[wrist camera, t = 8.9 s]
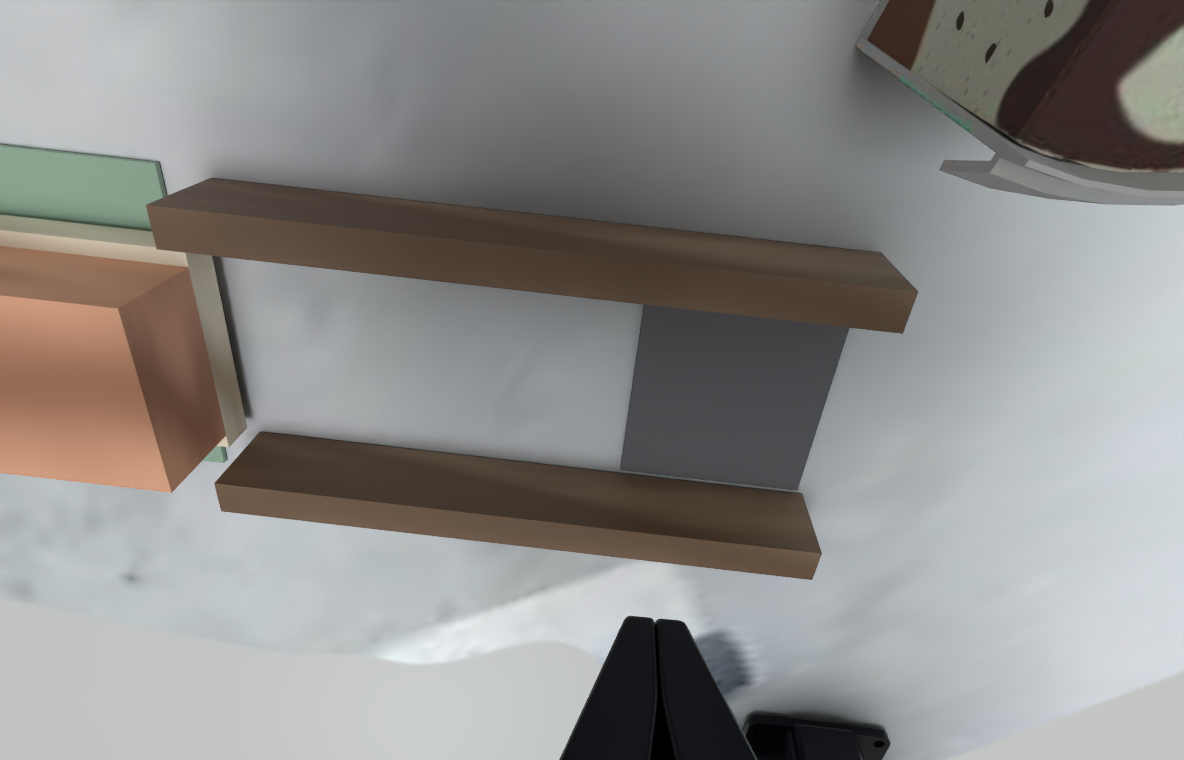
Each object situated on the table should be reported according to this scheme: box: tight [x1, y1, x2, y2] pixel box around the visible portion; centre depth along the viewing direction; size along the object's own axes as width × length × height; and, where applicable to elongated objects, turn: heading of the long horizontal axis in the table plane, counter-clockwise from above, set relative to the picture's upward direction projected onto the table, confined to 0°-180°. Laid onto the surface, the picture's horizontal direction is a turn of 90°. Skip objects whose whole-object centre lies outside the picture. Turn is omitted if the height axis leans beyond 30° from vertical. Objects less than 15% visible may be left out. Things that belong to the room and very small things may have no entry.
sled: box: [0, 215, 247, 493], centre depth 20 cm, size 7×8×4 cm
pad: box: [0, 144, 227, 463], centre depth 22 cm, size 11×11×1 cm
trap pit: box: [621, 304, 849, 490], centre depth 22 cm, size 7×6×1 cm
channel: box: [146, 178, 918, 580], centre depth 21 cm, size 10×20×3 cm, turn 85°
